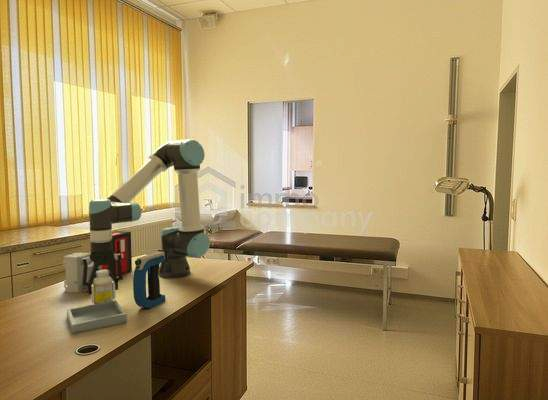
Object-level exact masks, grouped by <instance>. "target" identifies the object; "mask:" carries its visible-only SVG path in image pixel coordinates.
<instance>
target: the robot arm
mask: <svg viewBox="0 0 548 400" xmlns="http://www.w3.org/2000/svg"><path fill="white" fill-rule="evenodd" d="M205 157H206V155H205V149H204V147H203V146H202V144H201V143H200V142H198V140H195V139H189V138H188V139H180V140H169V141H167V142H165V143H163V144H162V145H161V146H159V147H158V148H157V149H155V151H154V152H152V154H150V155H149V156H148V160H147V161H145V163H144V164H143V165H142V166H140V167H139V169H138V170H136V171H135V172H134V173H133V174H132V175H130V177H129V178H127V179H126V181H124V183H123V184H122V185H121V186H119V187H118V188H116V190H115V191H114V192H113V193H112V194H111V195H110V196H109V197H107V198H106V199H105V198H104V199H103V198H102V199H91V200H90V201H89V205H88V215H89V216H88V217H89V240H90V241H91V242H90V253H91V254H90V256H89V257H87V258H82V262H83V273H82V284H83V285H84V286H85V285H86V286H88V290H87V294H88V295H89V296H90V302H91V305H93V304H94V303H95V299H94V285H93V284H92V283H93V280H94V277H95V274H96V271H97V269H98V266H101V265H107V266H108V269H109V271H110V273H111V275H112V278H113V279H112V286H113V301H114V300H116V299H117V298H116V291H118V290H119V281H121V280H123V279H124V274H123V275H122V268H121V257H122V256H121V255H120V254H114V253H113V248H112V241H111V239H112V232H113V228H112V227H113V225H112V224H121V223H129V222H131V223H132V222H136V221H139V220H140V219H141V217H142V208H141V206H140V204H139V203H138V202H132V201H133V200H134V199H135V198H136V197H137V196H138V194H140V193H141V192H142V191H143V190H144V189H145V188H146V187H147V186H148V185H149V184H151V182H152V181H153V180H154V179H155V178H156V177H157V176H158V175H160V174H161V173H165V172H166V171H167V170H168V169H170V168H171V167H173V171H174V172H175V173H176V174H177V178H178V181H177V182H178V192H179V208H180V209H179V210H180V220H181V221H180V222H181V225H180V226H173V227H166V228H163V229H162V230H161V233H160V234H161V235H160V238H161V240H160V241H161V243H160V245H161V250H167V257H168V261H167V262H161V263H160V265H159V277H162V278H169V279H171V278H181V277H185V276H188V275H190V274H191V267H190V264H189V260H188V258H187V257H190V258H195V259H196V258H202V257H203V256H204V255H206V254H207V251H209V248H210V245H211V239H210V236H209V235H208V234H207V233H205V227H204V225H202V224H201V214H200V213H201V212H200V200H199V199H200V198H199V197H200V196H199V185H198V184H199V182H198V181H199V180H198V172H200V170H201V164H203V162H204V161H205ZM113 257H115V259H116V265H117V272H118V277H116V274H115V272H114V270H113V267H112V265H111V263H110V261H111V260H112V258H113ZM90 259H91V260H92V261H93V263H94V264H93V268H92V271H91V273H90V276H89V279H88V282H87V268H88V263H89V260H90Z"/></svg>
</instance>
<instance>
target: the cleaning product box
mask: <svg viewBox="0 0 548 400" xmlns="http://www.w3.org/2000/svg"><path fill="white" fill-rule="evenodd" d="M111 241H112V248H113V253H114V254H120V255H121V256H122V257H121V268H122V275H123V276H124V275H125V274H127V273H130V272H132V271H133V262H132V258H133V257H132V232H131V231H126V230H125V231H123V230H121V231H120V230H119V231H118V230H115V231H112V239H111ZM110 263H111V265H112V267H113V270H114V272H115V274H116V277H118V272H117V265H116V259H115V257H113V258H112V260H111V261H110ZM102 270H109V269H108V266H107V265H102ZM109 276H110V277H111V278H112V275H111V273H110V271H109ZM112 280H113V278H112Z"/></svg>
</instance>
